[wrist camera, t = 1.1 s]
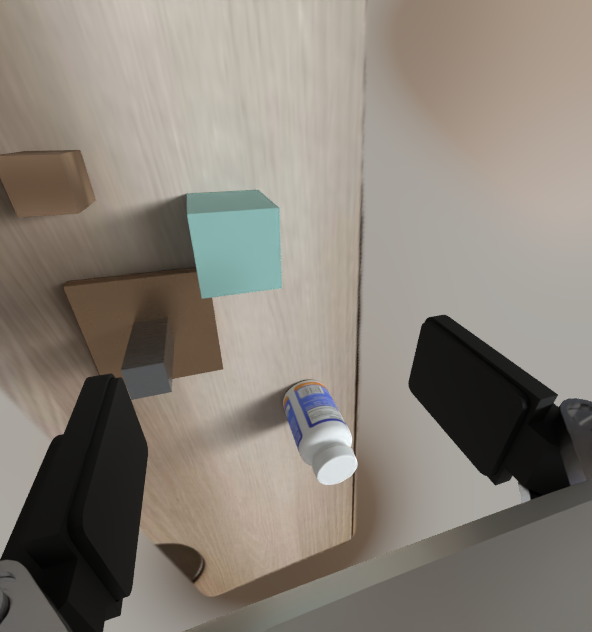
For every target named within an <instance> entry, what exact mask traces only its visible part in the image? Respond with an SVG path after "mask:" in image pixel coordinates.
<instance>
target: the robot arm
mask: <svg viewBox="0 0 592 632" xmlns="http://www.w3.org/2000/svg"><path fill="white" fill-rule="evenodd" d="M409 388H410V390H411V392H412V393H413V395H414V396H415V397H416V398H417V399H418V400H419V402H420V403H421V404H422V405H423V406H424V407H425V409H426V410H427V411H428V412H429V413H430V414H431V416H432V417H433V418H434V419H435V420H436V421H437V423H438V424H439V425H440V426H441V427H442V429H443V430H444V431H445V432H446V433H447V434H448V436H449V437H450V438H451V439H452V440H453V441H454V443H455V444H456V445H457V446H458V447H459V448H460V450H461V451H462V452H463V453H464V454H465V455H466V456H467V458H468V459H469V460H470V461H471V462H472V464H473V465H474V466H475V467H476V468H477V469H478V471H480V473H482V474H483V475H485V476H487V477H489V479H490V480H491V481H492V482H493V483H494V485H498V484H501V483H504V482H507V481H509V480H510V479H511V477H512V476H514V477H515V478H516V479H517V480H518V485H519V491H520V496H521V502H522V503H521V504H519V505H516V506H513V507H511V508H508V509H505V510H502V511H500V512H497V513H494V514H492V515H489V516H486V517H483V518H481V519H478V520H475V521H472V522H470V523H467V524H464V525H462V526H459V527H456V528H454V529H451V530H448V531H445V532H443V533H440V534H437V535H435V536H432V537H429V538H427V539H424V540H421V541H419V542H416V543H414V544H411V545H408V546H405V547H403V548H400V549H397V550H394V551H392V552H389V553H386V554H384V555H381V556H378V557H376V558H373V559H370V560H368V561H365V562H362V563H360V564H357V565H355V566H352V567H349V568H347V569H344V570H341V571H339V572H336V573H333V574H331V575H328V576H326V577H323V578H320V579H318V580H315V581H312V582H310V583H307V584H304V585H302V586H299V587H296V588H294V589H291V590H289V591H286V592H283V593H281V594H278V595H275V596H273V597H270V598H267V599H265V600H262V601H260V602H257V603H254V604H252V605H249V606H246V607H244V608H241V609H239V610H236V611H234V612H231V613H229V614H226V615H224V616H221V617H219V618H216V619H214V620H211V621H209V622H206V623H204V624H201V625H199V626H196V627H194V628H191V629H189V630H186V631H184V632H592V402H591V401H588V400H583V399H577V398H574V399H567V400H564V401H563V402H562V403H561V405H560V406H559V407H558V406H556V405H555V404H554V401H555V399H556V397H557V396H558V394H556V393H555V392H553V391H552V390H551V389H549V388H548V387H546V386H545V385H544V384H542V383H541V382H539V381H538V380H537V379H535V378H533V377H532V376H531V375H530V374H528V373H527V372H525V371H524V370H522V369H521V368H520V367H518V366H517V365H516V364H514V363H513V362H511V361H510V360H509V359H507V358H506V357H504V356H503V355H502V354H500V353H499V352H497V351H496V350H495V349H493V348H492V347H490V346H489V345H488V344H486V343H485V342H483V341H482V340H480V339H479V338H478V337H476V336H475V335H474V334H472V333H471V332H469V331H468V330H467V329H465V328H464V327H462V326H461V325H460V324H458V323H457V322H455V321H454V320H453V319H451V318H450V317H448V316H446V315H439V316H434V317H429V318H427V319H426V321H425V323H423V324H422V326H421V330H420V335H419V339H418V344H417V348H416V352H415V356H414V361H413V365H412V369H411V374H410V378H409ZM147 458H148V447H147V442H146V439H145V437H144V434H143V431H142V429H141V426H140V423H139V421H138V418H137V415H136V413H135V410H134V407H133V404H132V402H131V399H130V396H129V394H128V391H127V388H126V386H125V383H124V380H123V379H122V377H119V378H115V376H114V375H113V374H112V373H110V374H104V375H99V376H93V377H88V378H87V379H86V380H85V382H84V385H83V387H82V390H81V392H80V395H79V397H78V400H77V402H76V405H75V407H74V410H73V412H72V415H71V417H70V420H69V422H68V425H67V427H66V430H65V432H64V434H63V435H58V436H56V437H55V438H54V439H53V440H52V442H51V444H50V446H49V448H48V450H47V453H46V455H45V458H44V460H43V462H42V464H41V467H40V469H39V471H38V474H37V476H36V478H35V480H34V483H33V485H32V487H31V490H30V492H29V494H28V497H27V499H26V501H25V504H24V506H23V508H22V511H21V513H20V515H19V517H18V520H17V522H16V525H15V527H14V529H13V531H12V534H11V536H10V538H9V541H8V543H7V545H6V548H5V550H4V552H3V554H2V557H1V559H0V632H103V628H104V622H105V621H106V620H109V619H111V618H115V617H117V616H120V615H121V608H122V601H123V598H125V597H128V596H129V595H130V593H131V590H132V585H133V577H134V568H135V560H136V550H137V542H138V535H139V526H140V518H141V509H142V501H143V492H144V484H145V475H146V467H147Z"/></svg>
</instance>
